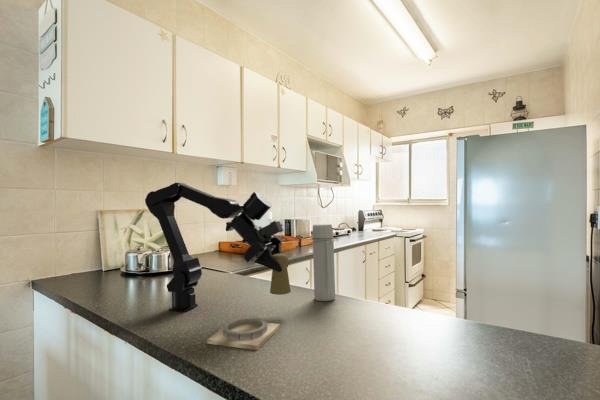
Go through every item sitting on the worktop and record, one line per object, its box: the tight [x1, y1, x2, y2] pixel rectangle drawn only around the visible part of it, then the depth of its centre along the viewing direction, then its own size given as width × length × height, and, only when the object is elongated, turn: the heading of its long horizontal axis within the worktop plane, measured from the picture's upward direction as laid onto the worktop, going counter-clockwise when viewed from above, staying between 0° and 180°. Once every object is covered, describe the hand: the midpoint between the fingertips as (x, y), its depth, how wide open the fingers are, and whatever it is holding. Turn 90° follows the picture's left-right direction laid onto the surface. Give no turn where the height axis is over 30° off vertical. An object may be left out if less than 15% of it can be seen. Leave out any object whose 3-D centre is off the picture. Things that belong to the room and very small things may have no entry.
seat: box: [206, 316, 281, 351], centre depth 76 cm, size 13×13×2 cm
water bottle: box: [311, 223, 336, 302], centre depth 104 cm, size 9×8×25 cm
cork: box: [269, 253, 292, 296], centre depth 91 cm, size 6×6×11 cm
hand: (284, 269), depth 90 cm, fingers closed on cork, 5 cm apart
